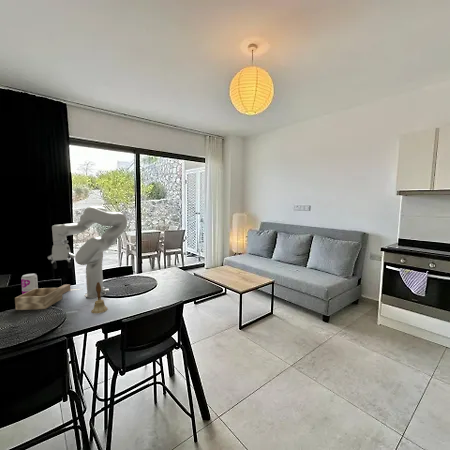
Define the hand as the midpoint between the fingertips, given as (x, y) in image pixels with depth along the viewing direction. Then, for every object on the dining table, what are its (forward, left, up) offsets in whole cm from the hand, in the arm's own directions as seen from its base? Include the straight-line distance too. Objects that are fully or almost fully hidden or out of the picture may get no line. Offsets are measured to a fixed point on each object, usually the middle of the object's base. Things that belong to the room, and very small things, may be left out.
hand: (62, 268), depth 168 cm
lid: (+1, 0, -18) cm, 18 cm away
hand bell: (-37, +32, -18) cm, 52 cm away
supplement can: (+18, +6, -18) cm, 26 cm away
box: (+2, +21, -17) cm, 27 cm away
